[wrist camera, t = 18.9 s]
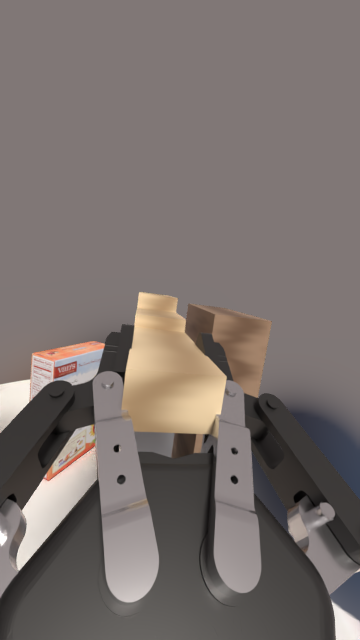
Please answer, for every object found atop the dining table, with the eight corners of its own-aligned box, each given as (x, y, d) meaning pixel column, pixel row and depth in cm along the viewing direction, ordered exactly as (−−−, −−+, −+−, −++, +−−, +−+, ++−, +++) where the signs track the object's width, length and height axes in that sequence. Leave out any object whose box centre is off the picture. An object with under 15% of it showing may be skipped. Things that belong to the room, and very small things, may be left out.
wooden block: (171, 593, 27) (215, 314, 23) (162, 490, 41) (188, 303, 37) (222, 589, 28) (271, 321, 24) (196, 490, 42) (225, 308, 38)
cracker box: (84, 429, 54) (93, 339, 52) (105, 439, 52) (116, 345, 50) (22, 468, 42) (30, 350, 39) (47, 483, 39) (56, 359, 37)
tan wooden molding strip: (118, 430, 9) (133, 302, 9) (135, 328, 33) (139, 291, 32) (217, 434, 10) (236, 315, 9) (164, 331, 34) (169, 295, 33)
